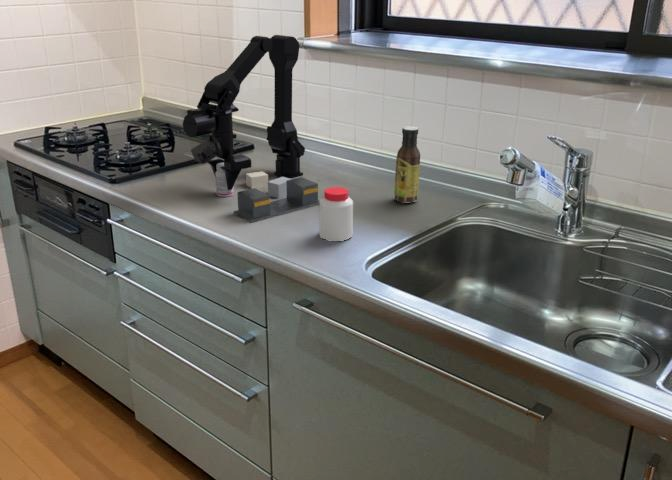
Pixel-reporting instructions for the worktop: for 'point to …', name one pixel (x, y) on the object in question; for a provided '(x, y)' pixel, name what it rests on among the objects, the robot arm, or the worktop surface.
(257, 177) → the cream rectangular block
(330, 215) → the pill bottle
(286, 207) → the dark grey block rack
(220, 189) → the pill bottle
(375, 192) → the worktop surface
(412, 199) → the sauce bottle
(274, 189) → the grey block
